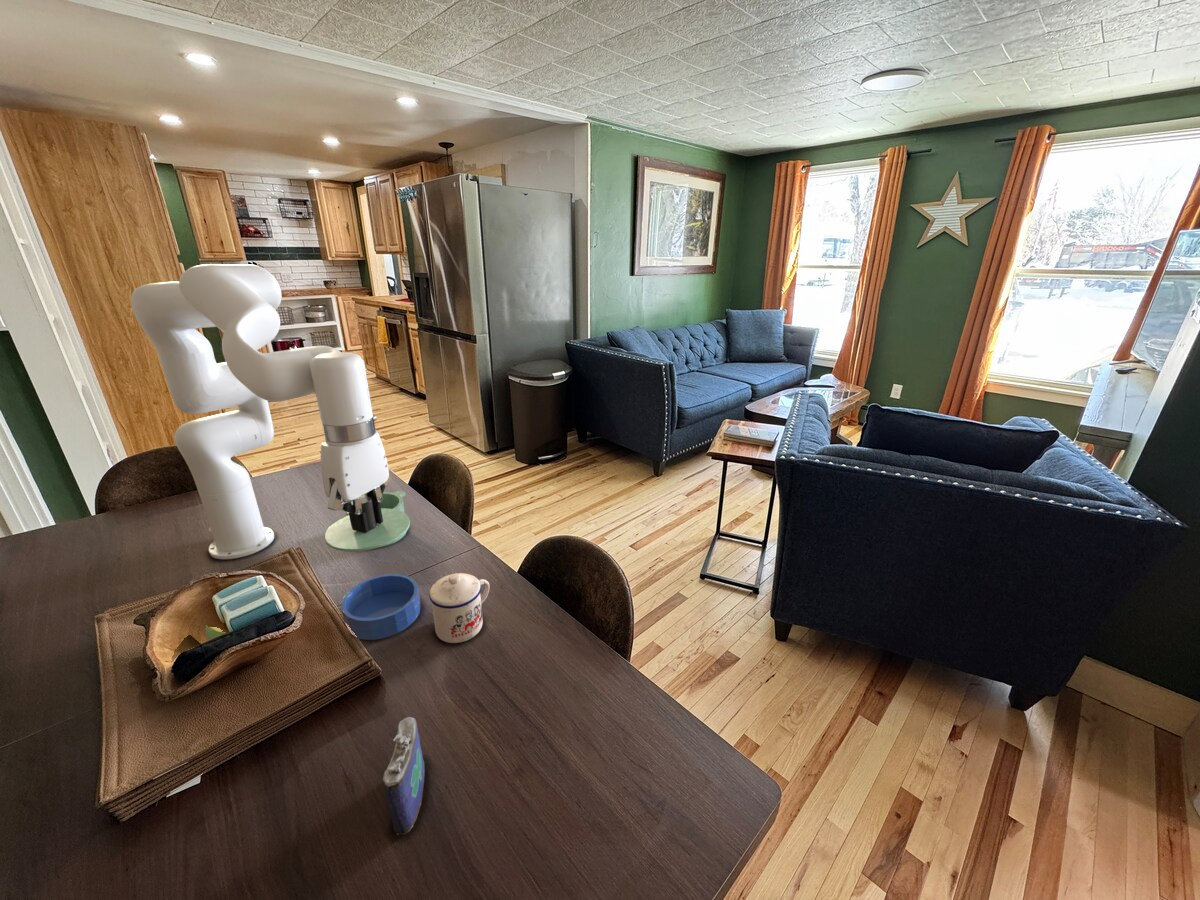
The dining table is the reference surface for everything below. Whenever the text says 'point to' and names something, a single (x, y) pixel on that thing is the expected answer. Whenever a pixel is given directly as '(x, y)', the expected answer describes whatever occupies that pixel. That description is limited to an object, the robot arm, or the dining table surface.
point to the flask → (405, 777)
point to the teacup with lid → (458, 606)
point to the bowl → (381, 606)
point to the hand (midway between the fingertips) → (367, 525)
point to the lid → (377, 535)
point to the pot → (391, 504)
